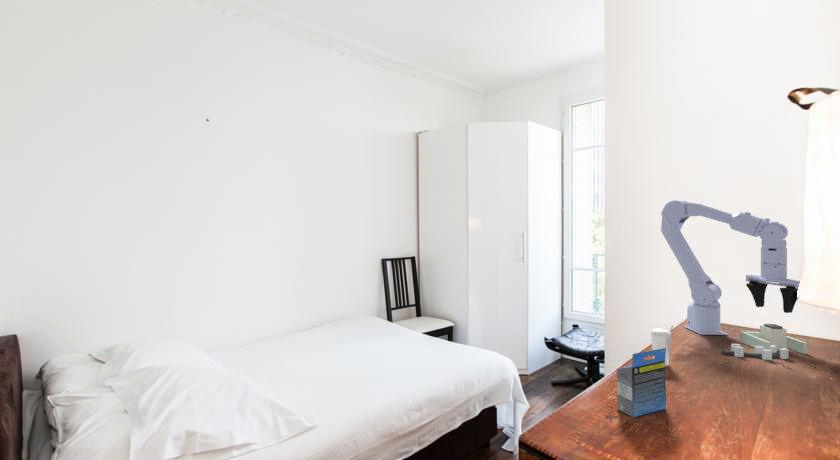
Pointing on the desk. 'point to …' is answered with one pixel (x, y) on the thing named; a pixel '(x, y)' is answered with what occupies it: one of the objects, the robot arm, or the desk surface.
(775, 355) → the cable
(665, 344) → the milkshake
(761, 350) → the clips
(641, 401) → the label tape cartridge
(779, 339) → the block
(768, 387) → the desk surface
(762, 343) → the holder
